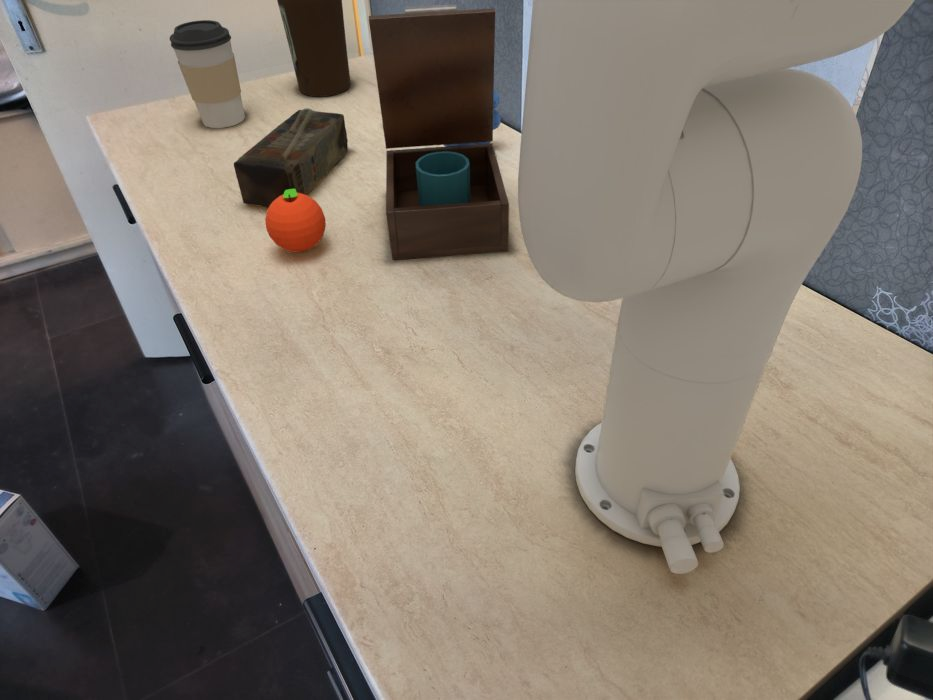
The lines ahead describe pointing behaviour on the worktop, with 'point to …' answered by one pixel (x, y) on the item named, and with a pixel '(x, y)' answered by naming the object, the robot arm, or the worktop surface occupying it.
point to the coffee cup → (209, 71)
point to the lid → (435, 75)
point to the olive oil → (317, 45)
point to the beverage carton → (292, 156)
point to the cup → (443, 178)
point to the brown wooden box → (446, 208)
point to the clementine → (295, 221)
